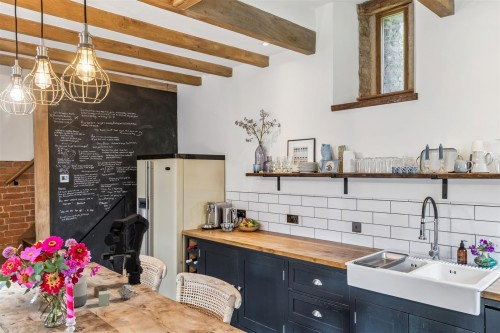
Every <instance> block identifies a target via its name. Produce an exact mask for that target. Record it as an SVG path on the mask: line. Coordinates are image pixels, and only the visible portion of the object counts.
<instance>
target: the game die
mask: <svg viewBox="0 0 500 333" xmlns="http://www.w3.org/2000/svg"><path fill="white" fill-rule="evenodd" d="M133 286H134V285H133V284H131V285H130V284H125V283H122V286H121V288H119V290H118V292H119V295H120V300H122V299H128V300H129V301H131V298H132V296H133V294H135V290H134V287H133Z"/></svg>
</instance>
